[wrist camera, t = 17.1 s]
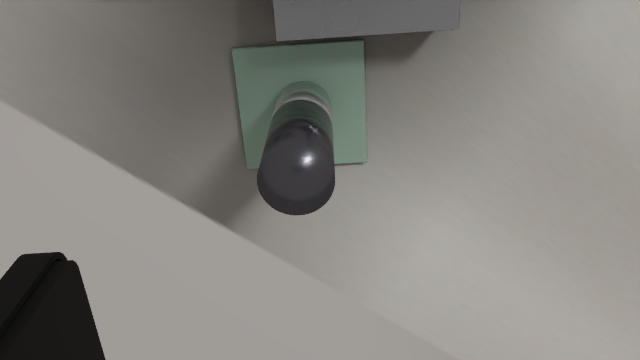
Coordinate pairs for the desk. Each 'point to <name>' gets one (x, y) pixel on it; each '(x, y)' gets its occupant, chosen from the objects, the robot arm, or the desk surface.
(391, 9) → the block
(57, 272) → the robot arm
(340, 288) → the desk surface
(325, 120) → the dark gray capped cylinder
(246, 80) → the mat
